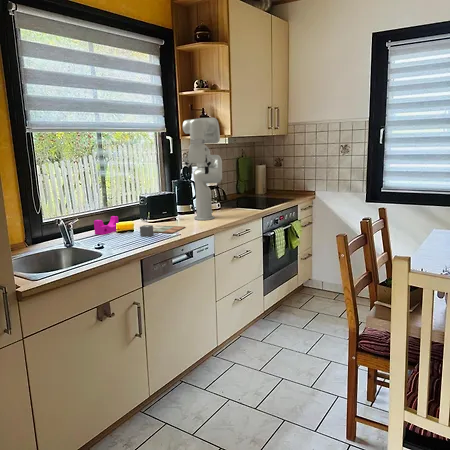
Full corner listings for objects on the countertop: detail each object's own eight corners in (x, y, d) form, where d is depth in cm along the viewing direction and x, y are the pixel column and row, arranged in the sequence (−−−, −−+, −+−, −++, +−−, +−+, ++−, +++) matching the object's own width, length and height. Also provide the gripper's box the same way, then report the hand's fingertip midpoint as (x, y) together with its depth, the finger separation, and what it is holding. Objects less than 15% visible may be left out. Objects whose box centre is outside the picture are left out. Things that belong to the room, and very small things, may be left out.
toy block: (103, 234, 229) (102, 221, 228) (94, 234, 232) (93, 220, 231) (122, 229, 242) (121, 216, 241) (114, 228, 245) (113, 216, 244)
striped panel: (157, 226, 246) (156, 225, 246) (185, 227, 240) (185, 226, 240) (141, 232, 231) (141, 231, 231) (172, 234, 224) (171, 232, 224)
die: (145, 234, 227) (144, 224, 226) (153, 234, 225) (152, 225, 224) (140, 236, 222) (139, 226, 221) (148, 236, 220) (148, 227, 219)
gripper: (214, 142, 232) (215, 173, 235) (185, 142, 238) (187, 173, 241) (209, 142, 225) (210, 174, 228) (180, 143, 231) (181, 174, 234)
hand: (198, 173), depth 235 cm, fingers open, 9 cm apart
